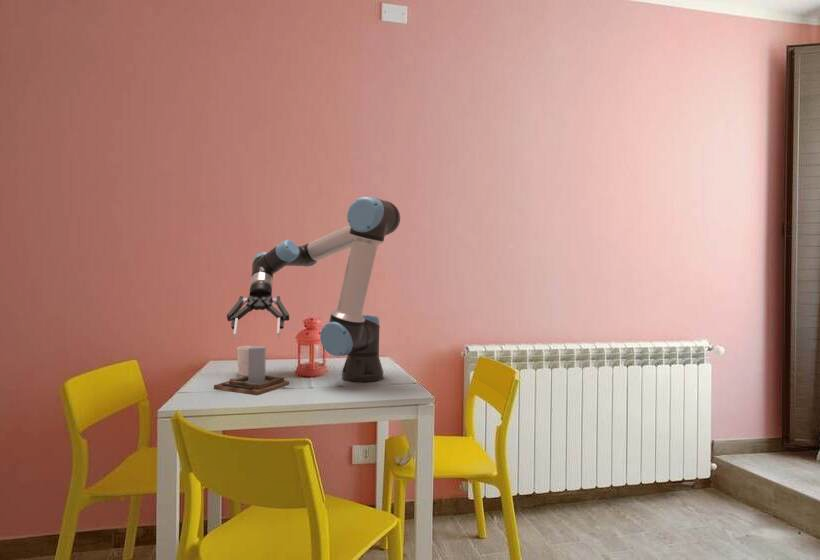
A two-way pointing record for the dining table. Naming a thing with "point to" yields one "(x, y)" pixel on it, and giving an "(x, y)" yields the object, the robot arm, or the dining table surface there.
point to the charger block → (257, 364)
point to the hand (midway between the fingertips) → (256, 335)
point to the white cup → (243, 360)
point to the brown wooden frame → (252, 385)
